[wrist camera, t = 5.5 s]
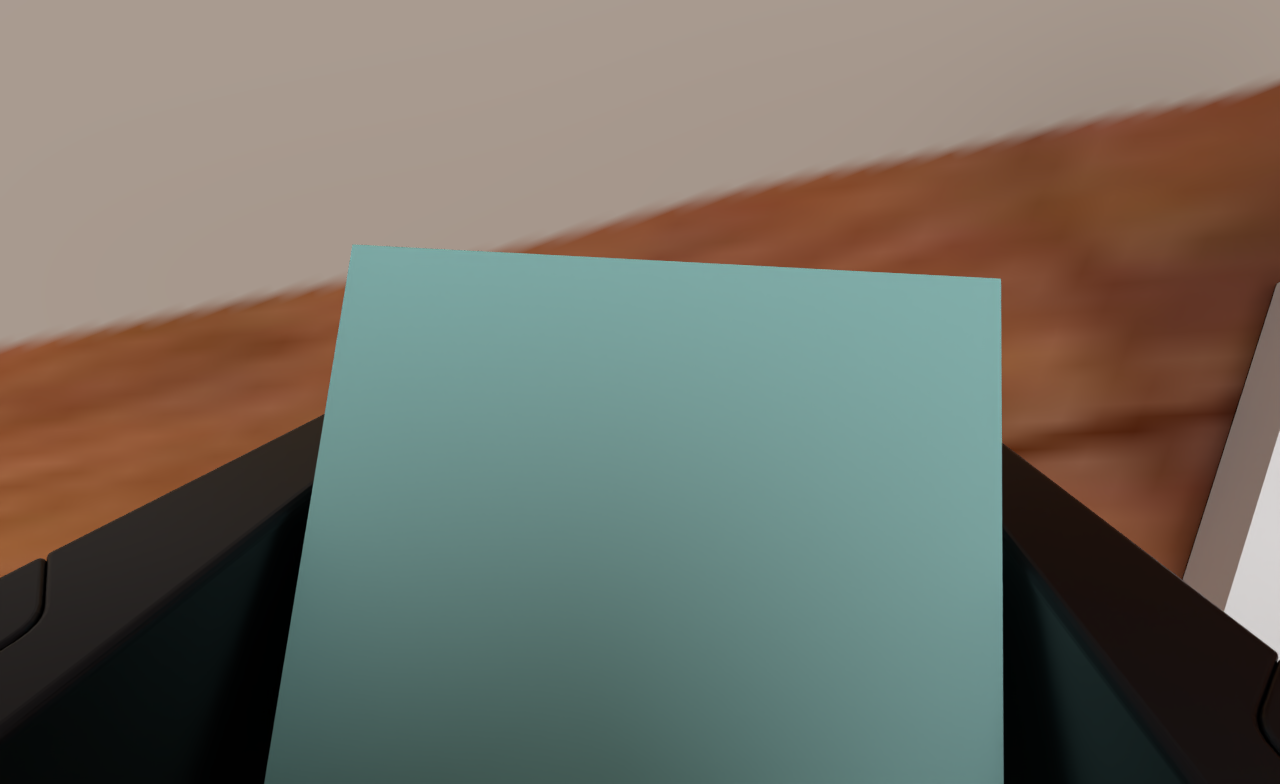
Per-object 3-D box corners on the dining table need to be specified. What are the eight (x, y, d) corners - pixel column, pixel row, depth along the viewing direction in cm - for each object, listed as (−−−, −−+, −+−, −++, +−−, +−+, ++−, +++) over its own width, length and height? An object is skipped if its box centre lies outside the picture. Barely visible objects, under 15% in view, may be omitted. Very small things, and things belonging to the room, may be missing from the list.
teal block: (815, 790, 17) (1005, 1025, 6) (534, 763, 17) (238, 940, 6) (825, 508, 18) (1001, 278, 7) (562, 488, 18) (352, 244, 7)
